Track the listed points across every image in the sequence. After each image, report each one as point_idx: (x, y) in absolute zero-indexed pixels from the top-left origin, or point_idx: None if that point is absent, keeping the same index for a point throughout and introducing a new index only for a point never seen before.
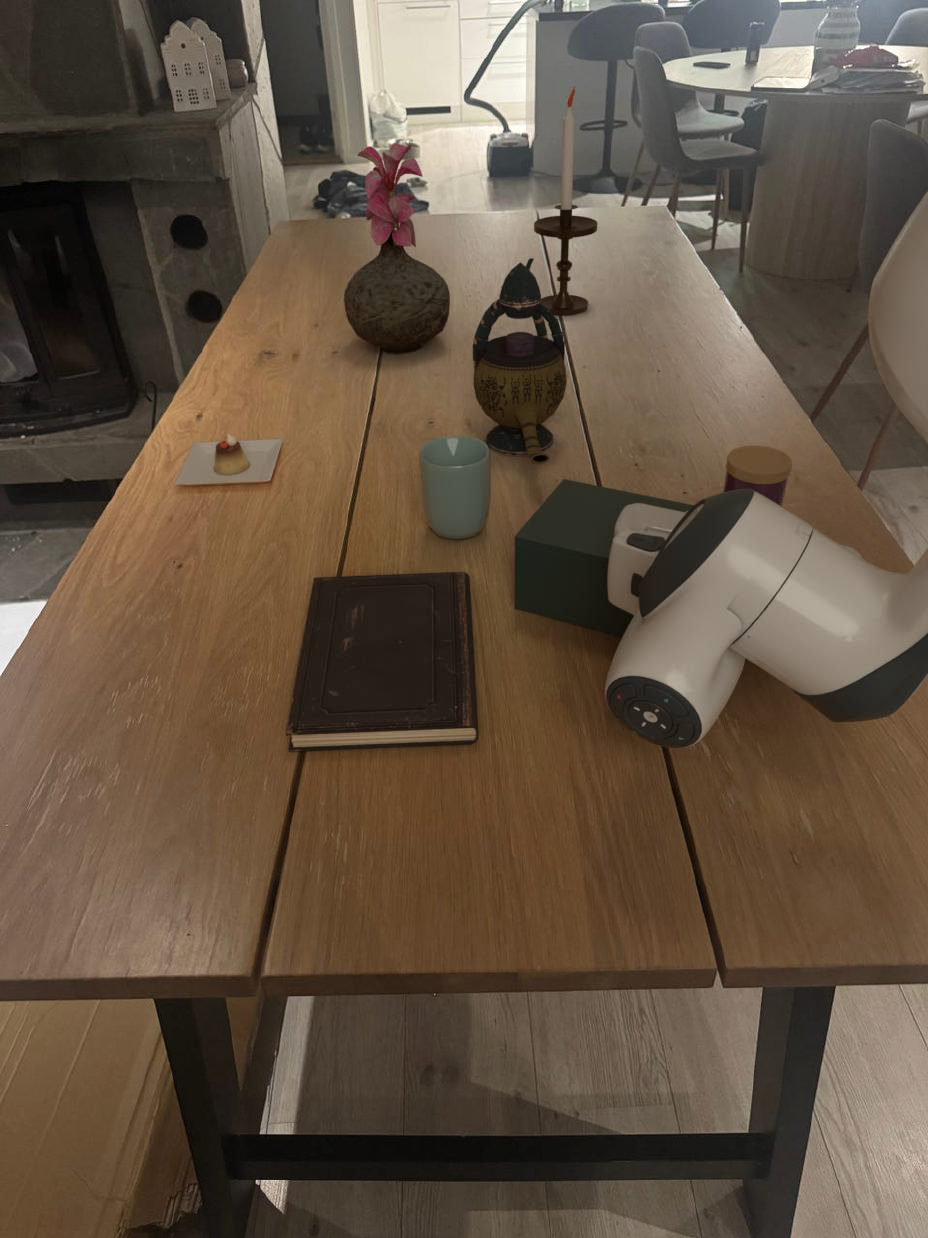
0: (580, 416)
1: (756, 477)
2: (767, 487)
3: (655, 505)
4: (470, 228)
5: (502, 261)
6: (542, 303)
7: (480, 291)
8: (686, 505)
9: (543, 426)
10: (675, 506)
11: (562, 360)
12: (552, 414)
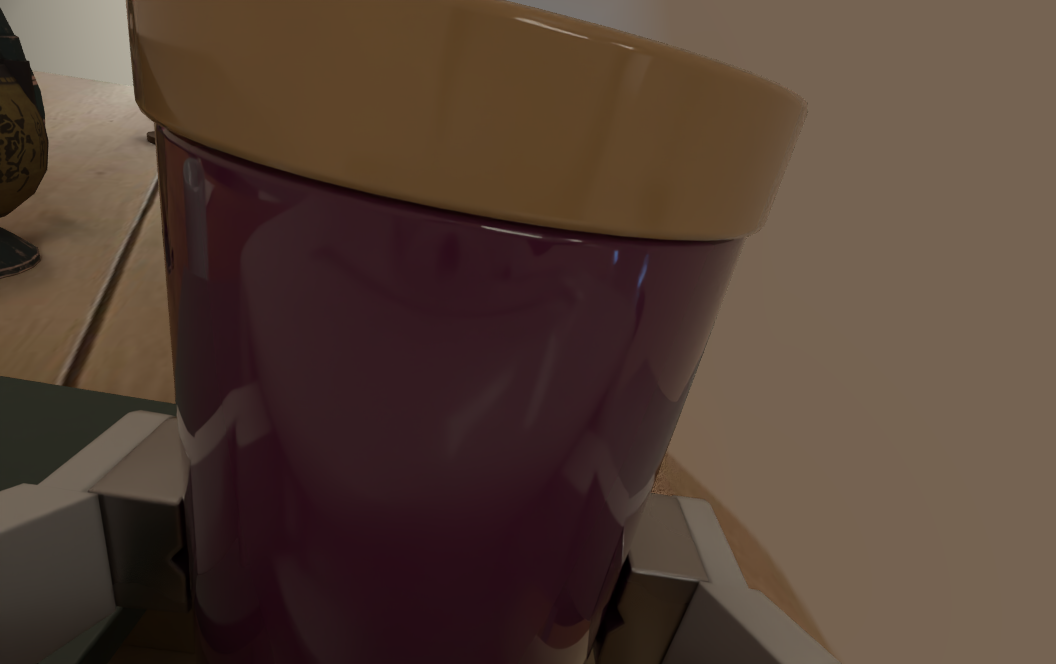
0: (129, 235)
1: (534, 97)
2: (647, 292)
3: (5, 421)
4: (111, 89)
5: (130, 109)
6: (153, 135)
7: (75, 118)
8: (167, 411)
9: (15, 236)
10: (110, 419)
11: (18, 93)
12: (4, 203)
